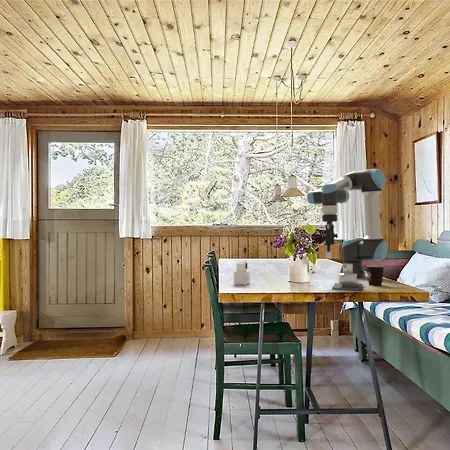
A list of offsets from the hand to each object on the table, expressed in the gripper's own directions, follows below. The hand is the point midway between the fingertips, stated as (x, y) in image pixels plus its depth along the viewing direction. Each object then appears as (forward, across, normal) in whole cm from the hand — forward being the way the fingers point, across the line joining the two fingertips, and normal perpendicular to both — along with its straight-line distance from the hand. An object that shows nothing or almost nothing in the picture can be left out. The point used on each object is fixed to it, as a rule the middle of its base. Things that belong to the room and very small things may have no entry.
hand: (330, 257), depth 224 cm
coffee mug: (+16, -16, +21) cm, 31 cm away
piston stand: (+15, -1, +9) cm, 18 cm away
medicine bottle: (+16, +2, -47) cm, 50 cm away
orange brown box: (0, 0, 0) cm, 0 cm away
